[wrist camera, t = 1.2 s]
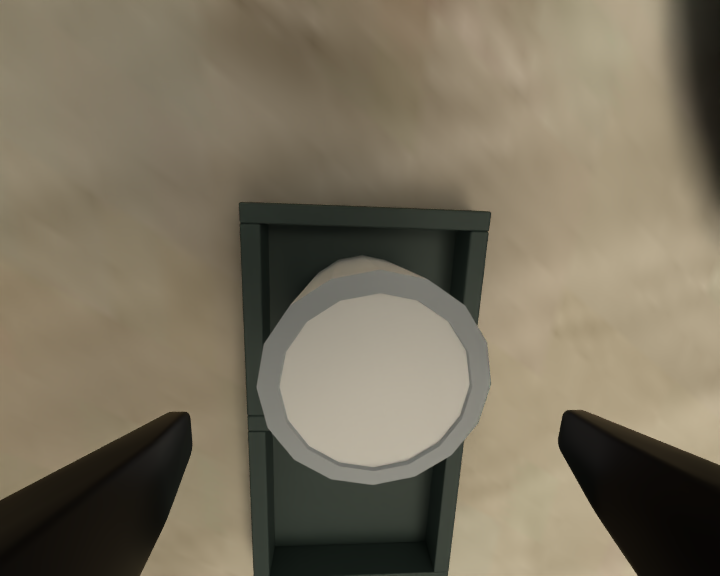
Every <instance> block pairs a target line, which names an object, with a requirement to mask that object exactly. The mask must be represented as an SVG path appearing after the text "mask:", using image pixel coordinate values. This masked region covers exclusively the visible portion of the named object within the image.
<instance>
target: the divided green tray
mask: <svg viewBox="0 0 720 576" xmlns="http://www.w3.org/2000/svg"><path fill="white" fill-rule="evenodd" d="M239 217H240V223H241V224H240V242H241V267H242V292H243V318H244V343H245V368H246V393H247V414H248V430H249V431H248V444H249V470H250V495H251V520H252V545H253V570H254V576H448V569H449V561H450V553H451V544H452V536H453V528H454V519H455V511H456V503H457V494H458V486H459V478H460V469H461V461H462V453H463V444H464V441H463V442H462V443H461V444H460V446H459V447H458V448H457V449H456V450H455V452H454V453H453V454H452V455H451V456H449V457H447V458H446V459H444V460H442V461H441V462H439V463H437V464H436V465H434V466H432V467H430V468H429V469H427V470H425V471H424V472H422V473H420V474H418V475H417V476H415V477H410V478H405V479H400V480H395V481H390V482H385V483H380V484H375V485H369V484H362V483H355V482H347V481H340V480H333V479H330V478H328V477H326V476H324V475H322V474H320V473H318V472H316V471H315V470H313V469H311V468H309V467H307V466H305V465H303V464H301V463H300V462H298V461H296V460H294V459H293V458H292V456H291V455H290V454H289V453H288V452H287V450H286V449H285V448H284V447H283V446H282V444H281V443H280V442H279V441H278V440H277V438H276V437H275V436H274V435H273V434H272V432H271V431H270V430H269V429H268V427H267V424H266V420H265V416H264V413H263V409H262V405H261V402H260V398H259V395H258V391H257V381H258V375H259V369H260V364H261V358H262V352H263V346H264V343H265V342H266V340H267V339H268V337H269V336H270V334H271V333H272V331H273V330H274V328H275V327H276V325H277V324H278V322H279V321H280V319H281V318H282V316H283V315H284V314H285V312H286V311H287V309H288V308H289V306H290V305H291V304H292V302H293V301H294V300H295V299H296V298H297V297H298V296H299V294H300V293H301V292H302V291H303V290H304V289H305V287H306V286H307V285H308V284H309V283H310V282H311V281H312V279H313V278H314V277H315V276H316V275H317V274H318V273H319V272H320V271H322V270H323V269H325V268H326V267H328V266H329V265H331V264H332V263H334V262H335V261H337V260H339V259H344V258H350V257H355V256H360V255H363V256H368V257H373V258H377V259H382V260H386V261H388V262H390V263H393V264H395V265H397V266H399V267H402V268H404V269H406V270H408V271H410V272H413V273H415V274H417V275H419V276H422V277H424V278H426V279H428V280H429V281H431V282H432V283H434V284H435V285H437V286H438V287H439V288H441V289H442V290H444V291H445V292H447V293H448V294H449V295H451V296H452V297H454V298H455V299H457V300H458V301H459V302H461V303H462V304H464V305H465V306H466V308H467V309H468V311H469V313H470V314H471V316H472V318H473V320H474V321H475V323H476V325H478V317H479V308H480V300H481V292H482V283H483V275H484V267H485V258H486V250H487V241H488V232H487V231H489V226H490V218H491V212H488V211H472V210H445V209H419V208H393V207H366V206H340V205H313V204H287V203H261V202H240V203H239Z"/></svg>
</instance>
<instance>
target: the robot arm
mask: <svg viewBox="0 0 720 576" xmlns="http://www.w3.org/2000/svg"><path fill="white" fill-rule="evenodd" d="M558 444H559V448H560V451H561V452H562V454H563V456H564V458H565V460H566V461H567V463H568V465H569V467H570V469H571V470H572V472H573V474H574V476H575V478H576V479H577V481H578V483H579V485H580V487H581V488H582V490H583V492H584V494H585V496H586V497H587V499H588V501H589V503H590V504H591V506H592V508H593V509H594V511H595V513H596V514H597V516H598V517H599V519H600V520H601V522H602V523H603V525H604V526H605V528H606V529H607V531H608V532H609V534H610V535H611V537H612V538H613V540H614V541H615V543H616V544H617V546H618V547H619V549H620V550H621V552H622V553H623V555H624V556H625V557H626V559H627V560H628V562H629V563H630V565H631V566H632V568H633V569H634V571H635V572H636V574H637V575H638V576H720V465H718V464H716V463H713V462H711V461H708V460H706V459H703V458H701V457H698V456H696V455H693V454H691V453H688V452H686V451H683V450H681V449H678V448H676V447H673V446H671V445H668V444H666V443H663V442H661V441H658V440H656V439H653V438H651V437H648V436H646V435H643V434H641V433H638V432H636V431H634V430H631V429H629V428H626V427H624V426H621V425H619V424H616V423H614V422H611V421H609V420H606V419H604V418H601V417H599V416H596V415H594V414H591V413H589V412H586V411H583V410H567V411H565V412H564V414H563V416H562V421H561V426H560V432H559V437H558ZM191 451H192V432H191V419H190V415H189V414H188V413H187V412H169V413H166V414H165V415H163V416H161V417H159V418H157V419H155V420H153V421H151V422H149V423H147V424H145V425H144V426H142V427H140V428H138V429H136V430H134V431H132V432H130V433H128V434H126V435H124V436H122V437H121V438H119V439H117V440H115V441H113V442H111V443H109V444H107V445H105V446H103V447H101V448H100V449H98V450H96V451H94V452H92V453H90V454H88V455H86V456H84V457H82V458H80V459H79V460H77V461H75V462H73V463H71V464H69V465H67V466H65V467H63V468H61V469H59V470H57V471H56V472H54V473H52V474H50V475H48V476H46V477H44V478H42V479H40V480H38V481H36V482H35V483H33V484H31V485H29V486H27V487H25V488H23V489H21V490H19V491H17V492H15V493H14V494H12V495H10V496H8V497H6V498H4V499H2V500H0V576H140V574H141V572H142V570H143V568H144V566H145V564H146V562H147V560H148V558H149V556H150V554H151V552H152V550H153V548H154V545H155V543H156V541H157V539H158V537H159V535H160V533H161V531H162V529H163V527H164V524H165V522H166V520H167V517H168V515H169V512H170V510H171V507H172V504H173V502H174V499H175V496H176V493H177V491H178V488H179V485H180V482H181V480H182V477H183V474H184V472H185V469H186V466H187V463H188V461H189V458H190V455H191Z"/></svg>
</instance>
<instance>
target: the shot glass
mask: <svg viewBox="0 0 720 576" xmlns="http://www.w3.org/2000/svg"><path fill="white" fill-rule="evenodd" d="M490 386H491V378H490V368H489V358H488V347H487V342H486V340H485V338H484V337H483V335H482V333H481V331H480V330H479V328H478V326H477V325H476V323H475V321H474V320H473V318H472V316H471V314H470V313H469V311H468V309H467V308H466V306H465V305H464V304H462V303H461V302H459V301H458V300H457V299H455V298H454V297H452V296H451V295H449V294H448V293H447V292H445V291H444V290H442V289H441V288H439V287H438V286H437V285H435V284H434V283H432V282H431V281H429V280H428V279H426V278H424V277H422V276H419V275H417V274H415V273H413V272H410V271H408V270H406V269H404V268H402V267H399V266H397V265H395V264H393V263H390V262H388V261H386V260H382V259H377V258H373V257H368V256H363V255H360V256H355V257H350V258H344V259H339V260H337V261H335V262H334V263H332V264H331V265H329V266H328V267H326V268H325V269H323V270H322V271H320V272H319V273H318V274H317V275H316V276H315V277H314V278H313V279H312V281H311V282H310V283H309V284H308V285H307V286H306V287H305V289H304V290H303V291H302V292H301V293H300V294H299V296H298V297H297V298H296V299H295V300H294V301H293V302H292V304H291V305H290V306H289V308H288V309H287V311H286V312H285V314H284V315H283V316H282V318H281V319H280V321H279V322H278V324H277V325H276V327H275V328H274V330H273V331H272V333H271V334H270V336H269V337H268V339H267V340H266V342H265V343H264V346H263V352H262V358H261V364H260V369H259V375H258V381H257V391H258V395H259V398H260V402H261V405H262V409H263V413H264V416H265V420H266V424H267V427H268V429H269V430H270V431H271V432H272V434H273V435H274V436H275V437H276V438H277V440H278V441H279V442H280V443H281V444H282V446H283V447H284V448H285V449H286V450H287V452H288V453H289V454H290V455H291V456H292V458H293V459H294V460H296V461H298V462H300V463H301V464H303V465H305V466H307V467H309V468H311V469H313V470H315V471H316V472H318V473H320V474H322V475H324V476H326V477H328V478H330V479H333V480H340V481H347V482H355V483H362V484H369V485H375V484H380V483H385V482H390V481H395V480H400V479H405V478H410V477H415V476H417V475H418V474H420V473H422V472H424V471H425V470H427V469H429V468H430V467H432V466H434V465H436V464H437V463H439V462H441V461H442V460H444V459H446V458H447V457H449V456H451V455H452V454H453V453H454V452H455V450H456V449H457V448H458V447H459V446H460V444H461V443H462V442H463V441H464V440H465V438H466V437H467V436H468V435H469V434H470V432H471V431H472V430H473V429H474V428H475V426H476V425H477V424H478V422H479V419H480V416H481V413H482V410H483V407H484V404H485V401H486V398H487V395H488V392H489V389H490Z"/></svg>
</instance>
